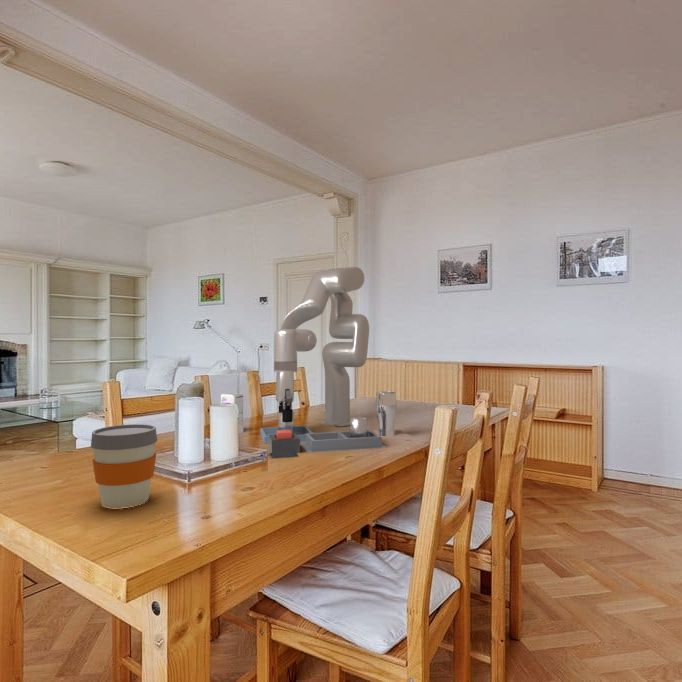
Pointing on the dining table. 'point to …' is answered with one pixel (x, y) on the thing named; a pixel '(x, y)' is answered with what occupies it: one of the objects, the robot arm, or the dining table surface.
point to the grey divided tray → (340, 442)
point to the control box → (284, 446)
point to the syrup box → (235, 399)
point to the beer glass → (386, 412)
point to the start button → (283, 434)
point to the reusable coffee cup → (124, 463)
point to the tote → (269, 431)
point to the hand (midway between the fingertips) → (285, 419)
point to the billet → (286, 424)
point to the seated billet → (358, 427)
